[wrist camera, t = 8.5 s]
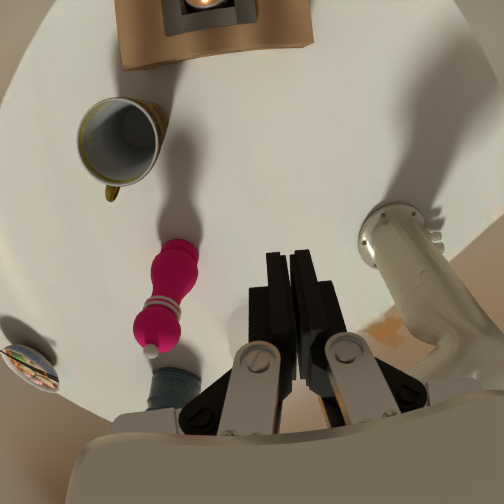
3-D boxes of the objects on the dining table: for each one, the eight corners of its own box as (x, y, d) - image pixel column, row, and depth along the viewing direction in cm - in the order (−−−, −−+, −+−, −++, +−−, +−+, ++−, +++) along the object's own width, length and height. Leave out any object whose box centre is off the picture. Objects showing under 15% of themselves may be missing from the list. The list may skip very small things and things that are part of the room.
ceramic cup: (121, 83, 31) (84, 91, 23) (190, 99, 33) (170, 108, 25) (104, 168, 38) (70, 197, 30) (165, 186, 40) (143, 220, 32)
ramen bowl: (17, 357, 73) (8, 375, 66) (0, 319, 60) (-12, 338, 54) (74, 384, 78) (67, 404, 71) (64, 350, 65) (54, 373, 59)
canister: (205, 391, 73) (200, 449, 59) (161, 389, 74) (151, 444, 59) (195, 367, 66) (187, 433, 51) (146, 365, 66) (132, 426, 52)
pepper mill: (155, 236, 45) (111, 334, 28) (199, 235, 45) (173, 340, 28) (162, 272, 49) (130, 370, 32) (203, 272, 49) (185, 375, 32)
